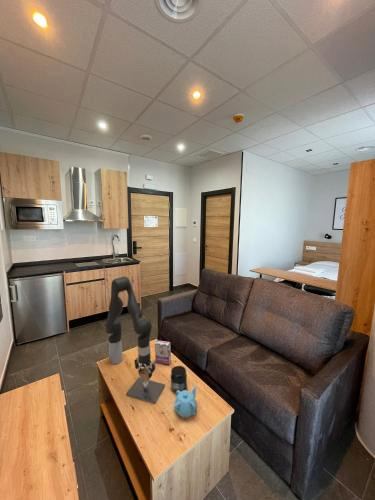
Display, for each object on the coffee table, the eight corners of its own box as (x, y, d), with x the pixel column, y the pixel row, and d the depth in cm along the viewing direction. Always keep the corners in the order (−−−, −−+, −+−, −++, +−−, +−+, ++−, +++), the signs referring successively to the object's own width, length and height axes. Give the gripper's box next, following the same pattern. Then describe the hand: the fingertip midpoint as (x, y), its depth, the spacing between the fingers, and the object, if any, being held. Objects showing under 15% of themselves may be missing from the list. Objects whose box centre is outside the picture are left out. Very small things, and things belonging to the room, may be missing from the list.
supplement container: (183, 379, 143) (183, 363, 141) (189, 390, 133) (189, 373, 132) (168, 383, 139) (168, 367, 138) (173, 396, 130) (173, 378, 128)
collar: (138, 379, 131) (138, 373, 130) (143, 372, 137) (143, 366, 136) (147, 381, 128) (147, 375, 128) (152, 374, 134) (152, 368, 134)
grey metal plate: (126, 395, 131) (125, 386, 130) (138, 379, 144) (137, 370, 143) (155, 404, 124) (154, 394, 123) (165, 386, 137) (164, 377, 136)
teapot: (172, 420, 114) (172, 403, 112) (176, 397, 128) (176, 382, 126) (195, 422, 113) (195, 405, 111) (197, 399, 127) (197, 383, 125)
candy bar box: (171, 361, 161) (170, 341, 159) (168, 365, 156) (168, 345, 154) (158, 359, 165) (157, 339, 162) (155, 363, 160) (154, 343, 157)
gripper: (130, 353, 129) (132, 377, 131) (151, 357, 124) (152, 382, 127) (137, 346, 136) (138, 369, 138) (157, 350, 131) (158, 374, 134)
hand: (145, 375), depth 132 cm, fingers closed on collar, 6 cm apart
